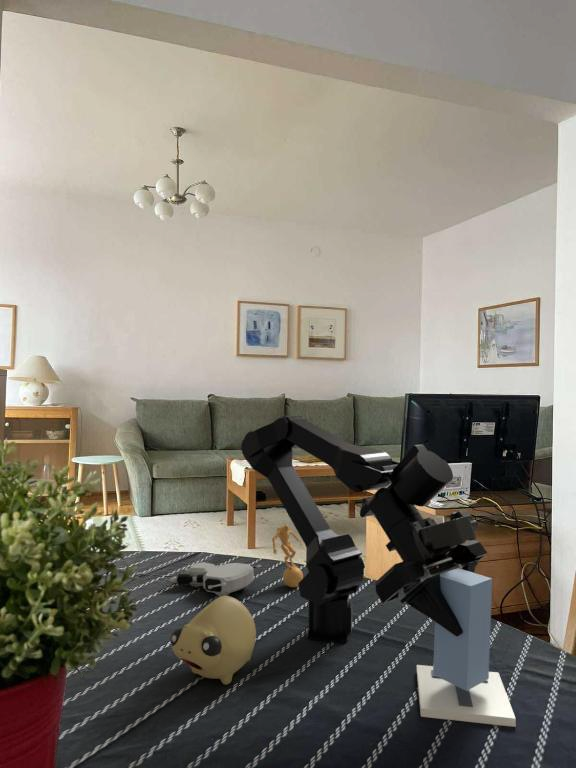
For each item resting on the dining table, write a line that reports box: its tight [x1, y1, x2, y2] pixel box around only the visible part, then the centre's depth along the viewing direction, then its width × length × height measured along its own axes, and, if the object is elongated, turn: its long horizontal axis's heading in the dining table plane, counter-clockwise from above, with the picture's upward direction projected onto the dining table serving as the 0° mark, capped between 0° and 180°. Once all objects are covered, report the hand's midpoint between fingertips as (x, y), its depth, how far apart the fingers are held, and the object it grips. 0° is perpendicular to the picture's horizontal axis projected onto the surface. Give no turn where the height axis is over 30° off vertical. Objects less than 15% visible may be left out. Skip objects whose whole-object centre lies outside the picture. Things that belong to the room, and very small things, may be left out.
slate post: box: [432, 568, 493, 691], centre depth 75 cm, size 5×5×13 cm
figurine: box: [271, 524, 304, 588], centre depth 115 cm, size 8×6×12 cm
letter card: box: [416, 664, 517, 728], centre depth 75 cm, size 11×11×1 cm
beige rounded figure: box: [170, 595, 257, 686], centre depth 79 cm, size 10×12×11 cm
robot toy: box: [169, 562, 262, 597], centre depth 113 cm, size 12×4×15 cm
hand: (471, 628), depth 74 cm, fingers closed on slate post, 5 cm apart
